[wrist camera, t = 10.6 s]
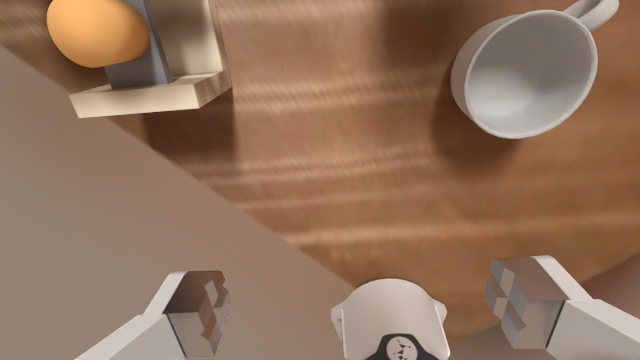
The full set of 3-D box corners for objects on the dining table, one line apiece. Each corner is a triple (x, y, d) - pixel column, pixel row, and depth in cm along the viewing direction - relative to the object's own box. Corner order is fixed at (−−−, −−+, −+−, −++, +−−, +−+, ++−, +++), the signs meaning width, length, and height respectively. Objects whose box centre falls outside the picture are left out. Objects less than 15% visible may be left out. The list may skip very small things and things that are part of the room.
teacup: (466, 134, 37) (498, 161, 30) (420, 59, 34) (444, 68, 27) (587, 58, 33) (657, 68, 26) (549, -38, 29) (619, -57, 22)
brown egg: (137, -5, 24) (99, -10, 20) (157, 57, 26) (125, 64, 22) (82, 1, 25) (34, -2, 21) (106, 63, 27) (66, 70, 23)
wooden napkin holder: (232, 86, 36) (199, 108, 27) (140, 94, 36) (79, 118, 27) (203, -52, 30) (148, -84, 21) (94, -40, 30) (-3, -65, 22)
